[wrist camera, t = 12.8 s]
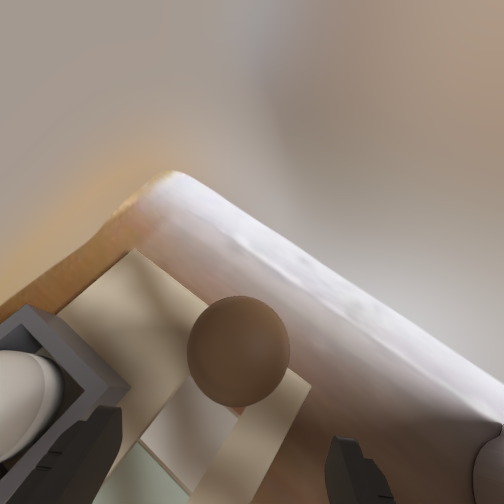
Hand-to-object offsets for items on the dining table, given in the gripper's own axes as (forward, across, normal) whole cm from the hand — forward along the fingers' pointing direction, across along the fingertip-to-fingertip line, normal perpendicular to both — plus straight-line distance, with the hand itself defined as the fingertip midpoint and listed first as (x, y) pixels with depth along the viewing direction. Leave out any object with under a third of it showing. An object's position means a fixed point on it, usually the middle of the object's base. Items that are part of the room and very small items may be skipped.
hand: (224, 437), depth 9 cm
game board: (+9, +7, +9) cm, 14 cm away
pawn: (+10, 0, +5) cm, 11 cm away
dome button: (+6, +14, +7) cm, 17 cm away
